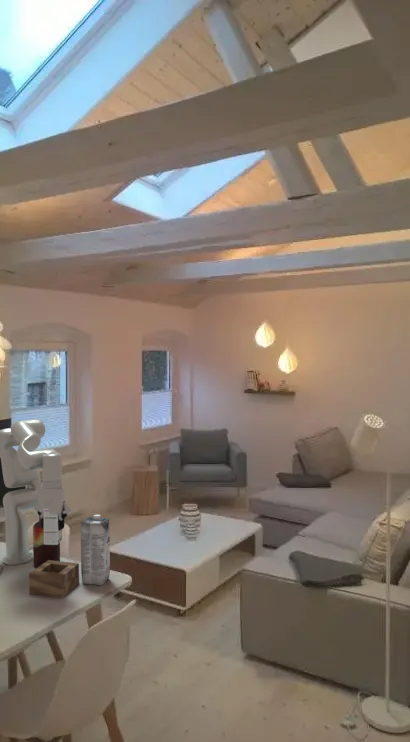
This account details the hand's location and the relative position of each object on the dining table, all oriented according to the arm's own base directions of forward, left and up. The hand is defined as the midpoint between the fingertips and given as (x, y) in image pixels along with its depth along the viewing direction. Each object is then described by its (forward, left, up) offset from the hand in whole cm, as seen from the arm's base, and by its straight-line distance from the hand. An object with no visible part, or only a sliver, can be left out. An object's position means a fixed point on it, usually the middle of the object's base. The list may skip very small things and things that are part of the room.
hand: (52, 528), depth 218 cm
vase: (-14, -12, -25) cm, 31 cm away
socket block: (0, 0, -24) cm, 24 cm away
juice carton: (-10, +13, -25) cm, 30 cm away
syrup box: (0, 0, -6) cm, 6 cm away
